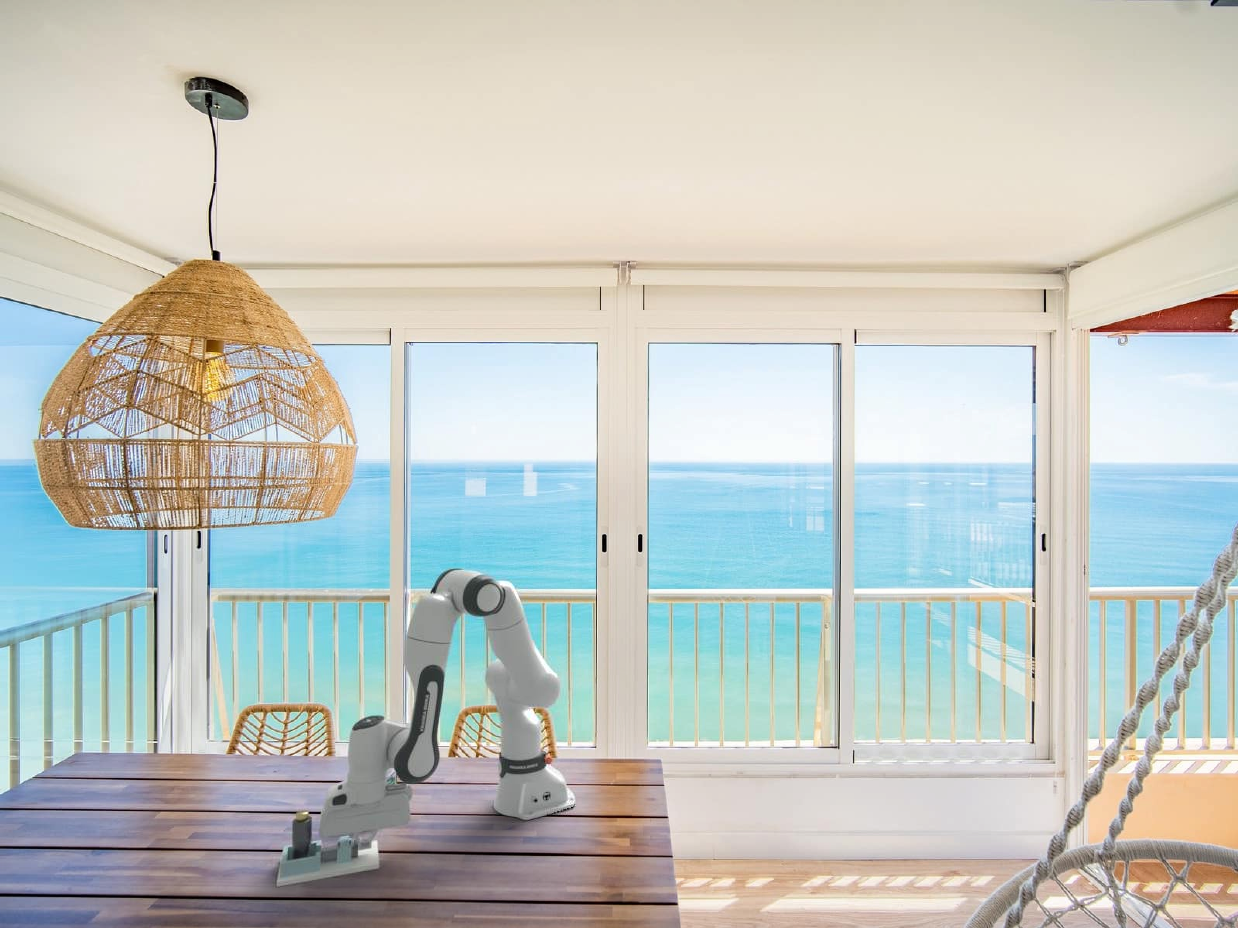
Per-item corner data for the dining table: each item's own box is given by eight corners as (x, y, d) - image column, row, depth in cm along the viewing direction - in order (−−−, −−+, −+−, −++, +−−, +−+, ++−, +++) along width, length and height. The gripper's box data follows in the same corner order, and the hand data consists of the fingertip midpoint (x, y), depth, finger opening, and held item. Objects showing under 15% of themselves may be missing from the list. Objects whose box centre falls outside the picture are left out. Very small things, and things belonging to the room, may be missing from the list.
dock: (377, 844, 164) (377, 824, 164) (379, 868, 154) (379, 847, 154) (281, 860, 156) (282, 839, 156) (276, 887, 146) (277, 864, 146)
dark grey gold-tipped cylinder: (312, 858, 155) (312, 807, 156) (310, 867, 152) (310, 815, 152) (293, 861, 154) (293, 810, 155) (290, 871, 150) (291, 818, 151)
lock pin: (357, 851, 159) (358, 839, 159) (357, 857, 156) (358, 844, 156) (320, 857, 156) (321, 845, 156) (320, 863, 153) (320, 851, 153)
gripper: (411, 776, 165) (409, 834, 165) (320, 789, 158) (318, 849, 157) (413, 787, 159) (412, 847, 159) (319, 801, 152) (317, 863, 151)
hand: (364, 848), depth 158 cm, fingers closed
